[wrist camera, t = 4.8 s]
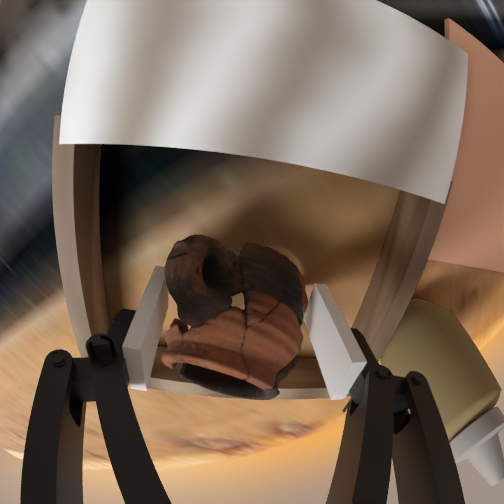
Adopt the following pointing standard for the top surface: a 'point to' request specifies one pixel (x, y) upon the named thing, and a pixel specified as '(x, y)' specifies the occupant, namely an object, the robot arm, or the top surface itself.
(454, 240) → the mat
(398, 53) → the cold frame
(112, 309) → the top surface
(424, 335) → the squeeze bottle
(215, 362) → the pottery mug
